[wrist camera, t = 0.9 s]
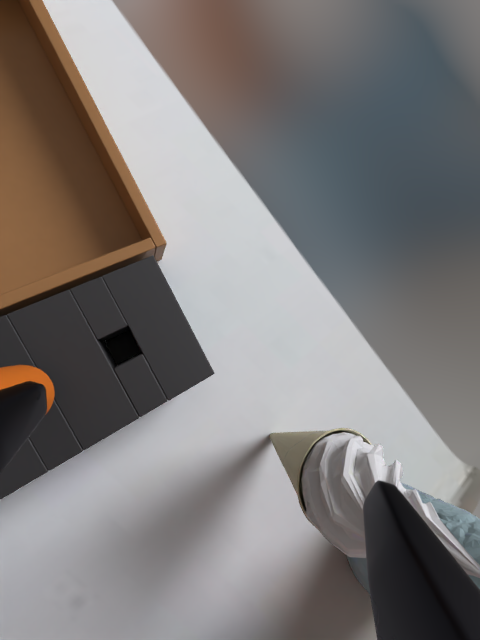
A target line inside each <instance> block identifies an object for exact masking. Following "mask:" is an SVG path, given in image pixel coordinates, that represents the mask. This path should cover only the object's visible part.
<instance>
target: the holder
mask: <svg viewBox="0 0 480 640" xmlns="http://www.w3.org/2000/svg"><path fill="white" fill-rule="evenodd" d="M128 330H129V331H130V333H131V334H132V336H133V338H134V340H135V342H136V344H137V346H138V347H139V349H140V351H141V353H139V354H137V355H135V356H133V357H131V358H129V359H127V360H125V361H124V362H122V363H120V364H118V365H116V363H115V361H114V359H113V357H112V356H111V354H110V352H109V350H108V348H107V346H106V345H105V343H104V341H107V340H109V339H111V338H113V337H115V336H117V335H119V334H122V333H124V332H126V331H128ZM15 365H28V366H33V367H36V368H38V369H40V370H42V371H43V372H44V373H46V374H47V375H48V376H49V378H50V379H51V381H52V383H53V386H54V391H55V396H54V401H53V404H52V406H51V408H50V410H49V411H48V412H47V414H46V415H45V416H44V418H43V419H42V420H41V422H40V423H39V424H38V426H37V427H36V428H35V430H34V431H33V432H32V434H31V435H30V436H29V438H28V439H27V440H26V441H25V443H24V444H23V445H22V447H21V448H20V449H19V451H18V452H17V453H16V455H15V456H14V457H13V459H12V460H11V461H10V463H9V464H8V465H7V466H6V468H5V469H4V470H3V471H2V472H1V473H0V499H2V498H4V497H5V496H7V495H9V494H11V493H12V492H14V491H16V490H17V489H19V488H21V487H22V486H24V485H26V484H28V483H29V482H31V481H33V480H34V479H36V478H38V477H39V476H41V475H43V474H45V473H46V472H48V471H49V470H51V469H53V468H55V467H56V466H58V465H60V464H62V463H63V462H65V461H67V460H68V459H70V458H72V457H73V456H75V455H77V454H79V453H80V452H82V451H83V450H85V449H87V448H89V447H90V446H92V445H94V444H96V443H97V442H99V441H101V440H102V439H104V438H106V437H107V436H109V435H111V434H113V433H114V432H116V431H118V430H119V429H121V428H123V427H125V426H126V425H128V424H130V423H131V422H133V421H135V420H136V419H138V418H139V417H141V416H143V415H145V414H146V413H148V412H150V411H151V410H153V409H155V408H157V407H158V406H160V405H162V404H163V403H165V402H167V399H168V400H171V399H172V398H174V397H176V396H177V395H179V394H181V393H182V392H184V391H186V390H188V389H189V388H191V387H193V386H194V385H196V384H198V383H199V382H201V381H203V380H205V379H206V378H208V377H210V376H211V375H213V374H214V371H213V370H212V368H211V366H210V364H209V362H208V360H207V358H206V356H205V354H204V352H203V350H202V348H201V346H200V344H199V342H198V341H197V339H196V337H195V335H194V333H193V331H192V329H191V327H190V325H189V323H188V321H187V319H186V317H185V315H184V314H183V312H182V310H181V308H180V306H179V304H178V302H177V300H176V298H175V296H174V294H173V292H172V290H171V288H170V287H169V285H168V283H167V281H166V279H165V277H164V275H163V273H162V271H161V269H160V267H159V265H158V263H157V261H156V259H155V258H154V256H153V255H152V256H150V257H147V258H145V259H142V260H140V261H138V262H135V263H133V264H130V265H128V266H125V267H123V268H120V269H118V270H115V271H113V272H110V273H108V274H105V275H103V276H102V277H98V278H96V279H93V280H91V281H88V282H86V283H83V284H81V285H78V286H76V287H73V288H71V289H70V290H66V291H63V292H61V293H58V294H56V295H53V296H51V297H49V298H46V299H44V300H41V301H39V302H36V303H34V304H31V305H29V306H26V307H24V308H21V309H19V310H16V311H14V312H11V313H9V314H7V315H4V316H1V317H0V367H7V366H15Z"/></svg>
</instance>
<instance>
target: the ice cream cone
mask: <svg viewBox="0 0 480 640" xmlns="http://www.w3.org/2000/svg"><path fill="white" fill-rule="evenodd" d="M270 439H271V441H272V443H273V445H274V448H275V450H276V452H277V454H278V456H279V458H280V460H281V462H282V464H283V466H284V468H285V470H286V472H287V474H288V476H289V478H290V480H291V482H292V485H293V487H294V489H295V491H296V493H297V495H298V499H299V503H300V506H301V508H302V511H303V513H304V514H305V516H306V518H307V519H308V520H309V521H310V522H311V523H312V524H313V525H314V526H315V527H316V528H317V529H318V530H319V531H320V533H321V534H322V535H323V536H324V537H325V538H326V539H327V540H328V541H329V542H330V543H331V544H332V545H334V546H335V547H336V548H338V549H339V550H340V551H342V552H343V553H344V554H346V555H347V556H348V557H356V558H366V546H365V530H364V515H363V505H364V501H365V499H366V497H367V495H368V494H369V492H370V490H371V489H372V487H373V485H374V484H375V482H376V481H378V480H380V481H384V482H388V483H391V484H394V485H395V486H396V487H397V488H398V489H399V490H400V491H401V493H402V494H403V495H404V496H405V498H406V499H407V500H408V501H409V503H410V504H411V505H412V506H413V508H414V509H415V510H416V511H417V512H418V514H419V515H420V516H421V517H422V519H423V520H424V521H425V522H426V524H427V525H428V526H429V527H430V529H431V530H432V531H433V532H434V533H435V535H436V536H437V537H438V538H439V540H440V541H441V542H442V543H443V545H444V546H445V547H446V548H447V550H448V551H449V552H450V553H451V554H452V556H453V557H454V558H455V559H456V561H457V562H458V563H459V564H460V566H461V567H462V568H463V569H464V571H465V572H466V573H467V574H468V575H472V576H475V577H478V578H480V565H479V564H478V563H477V562H476V561H475V560H474V559H473V558H472V556H471V555H470V554H469V553H468V552H467V551H466V550H465V548H464V547H463V546H462V545H461V544H460V543H459V541H458V540H457V539H456V538H455V537H454V536H453V534H452V533H451V532H450V531H449V530H448V528H447V527H446V526H445V525H444V524H443V523H442V521H441V520H440V519H439V517H438V515H437V513H436V511H435V509H434V507H433V505H432V503H431V502H428V503H426V504H425V503H422V501H421V498H420V496H419V494H418V492H417V490H416V489H414V490H408V489H405V488H404V487H403V486H402V484H401V482H400V479H401V478H402V477H403V468H402V464H401V463H400V462H399V461H398V460H395V462H394V463H393V464H392V465H390V466H387V465H386V463H385V461H384V457H383V447H382V446H381V445H380V444H376V445H375V446H373V445H372V444H371V443H370V442H369V441H368V439H367V438H366V437H365V436H363V435H362V434H361V433H359V432H357V431H355V430H352V429H348V428H338V429H333V430H330V431H309V432H284V433H271V434H270Z"/></svg>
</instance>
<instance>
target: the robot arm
mask: <svg viewBox="0 0 480 640" xmlns="http://www.w3.org/2000/svg"><path fill="white" fill-rule="evenodd" d="M46 412H47V396H46V388H45V386H44V385H43V384H40V383H36V382H32V381H27V382H23V383H20V384H17V385H14V386H11V387H8V388H4V389H1V390H0V473H1V472H2V471H3V470H4V469H5V468H6V466H7V465H8V464H9V463H10V461H11V460H12V459H13V457H14V456H15V455H16V453H17V452H18V451H19V449H20V448H21V447H22V445H23V444H24V443H25V441H26V440H27V439H28V438H29V436H30V435H31V434H32V432H33V431H34V430H35V428H36V427H37V426H38V424H39V423H40V422H41V420H42V419H43V418H44V416H45V414H46ZM363 515H364V530H365V546H366V561H367V573H368V583H369V590H370V596H371V602H372V609H373V615H374V621H375V627H376V634H377V640H480V589H479V588H478V587H477V585H476V584H475V583H474V582H473V580H472V579H471V578H470V577H469V575H468V574H467V573H466V572H465V571H464V569H463V568H462V567H461V566H460V564H459V563H458V562H457V561H456V559H455V558H454V557H453V556H452V554H451V553H450V552H449V551H448V550H447V548H446V547H445V546H444V545H443V543H442V542H441V541H440V540H439V538H438V537H437V536H436V535H435V533H434V532H433V531H432V530H431V529H430V527H429V526H428V525H427V524H426V522H425V521H424V520H423V519H422V517H421V516H420V515H419V514H418V512H417V511H416V510H415V509H414V508H413V506H412V505H411V504H410V503H409V501H408V500H407V499H406V498H405V496H404V495H403V494H402V493H401V491H400V490H399V489H398V488H397V487H396V486H395V485H394V484H391V483H388V482H384V481H380V480H378V481H376V482H375V484H374V485H373V487H372V489H371V490H370V492H369V494H368V495H367V497H366V499H365V501H364V505H363Z"/></svg>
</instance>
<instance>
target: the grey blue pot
mask: <svg viewBox="0 0 480 640" xmlns="http://www.w3.org/2000/svg"><path fill="white" fill-rule="evenodd" d="M401 484H402V486H403V487H404V488H405V489H408V490H414V489H415V488H413V487H411V486H408V485H406V484H403V483H401ZM416 490H417V489H416ZM417 492H418V494H419V496H420V498H421V501H422V503H425V504H426V503H428V502H431V503H432V505H433V507H434V509H435V511H436V513H437V515H438V517H439V519H440V520H441V521H442V523H443V524H444V525H445V526H446V527H447V528H448V530H449V531H450V532H451V533H452V534H453V536H454V537H455V538H456V539H457V540H458V541H459V543H460V544H461V545H462V546H463V547H464V548H465V550H466V551H467V552H468V553H469V554H470V555H471V556H472V558H473V559H474V560H475V561H476V562H477V563H478V564H479V565H480V519H479V518H477V517H476V516H474V515H472V514H471V513H470V512H468V511H466V510H464V509H460V508H458V507H456V506H454V505H452V504H449V503H446V502H444V501H442V500H440V499H435V498H434V497H432V496H430V495H428V494H426V493H423V492H421V491H419V490H417ZM347 558H348V561H349V564H350V567H351V569H352V571H353V573H354V575H355V576H356V578H357V579H358V581H359V582H360V583H361V584H362V586H363V587H364V588H365V589H366V590H367V591H368V593H369V594H370V590H369V583H368V573H367V561H366V558H356V557H348V556H347ZM469 577H470V578H471V579H472V580H473V582H474V583H475V584H476V585H477V587H478V588H479V589H480V578H478V577H475V576H472V575H469Z"/></svg>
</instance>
